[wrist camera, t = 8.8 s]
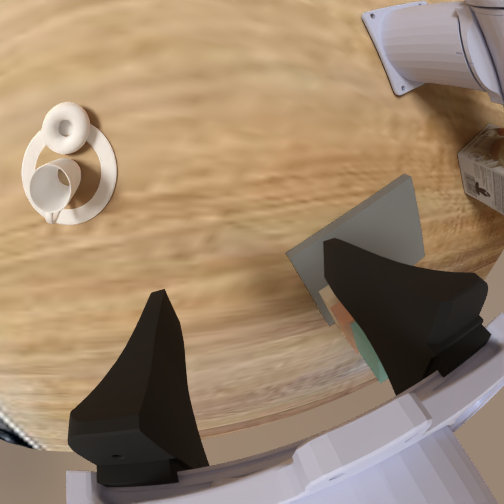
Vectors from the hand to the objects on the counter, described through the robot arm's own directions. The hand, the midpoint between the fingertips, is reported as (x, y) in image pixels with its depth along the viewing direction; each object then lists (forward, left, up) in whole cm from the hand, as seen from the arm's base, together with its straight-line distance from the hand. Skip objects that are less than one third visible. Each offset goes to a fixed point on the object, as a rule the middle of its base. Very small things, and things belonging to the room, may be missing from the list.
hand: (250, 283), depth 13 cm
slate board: (-10, +13, -10) cm, 19 cm away
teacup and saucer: (+4, -8, -11) cm, 14 cm away
